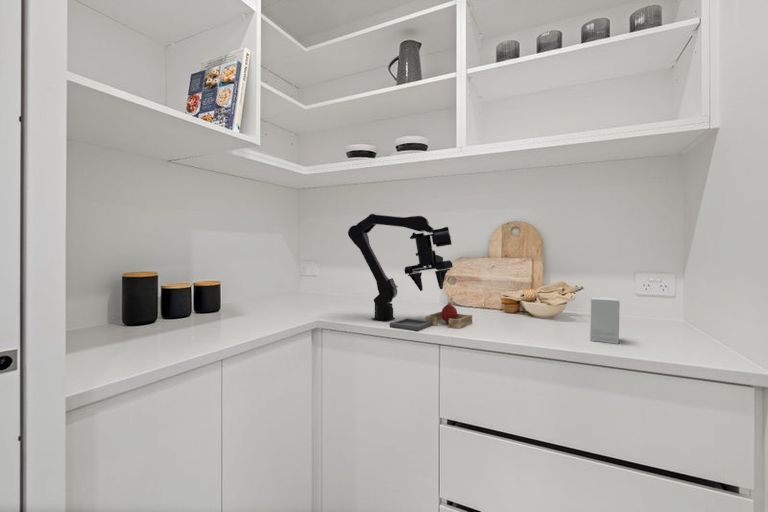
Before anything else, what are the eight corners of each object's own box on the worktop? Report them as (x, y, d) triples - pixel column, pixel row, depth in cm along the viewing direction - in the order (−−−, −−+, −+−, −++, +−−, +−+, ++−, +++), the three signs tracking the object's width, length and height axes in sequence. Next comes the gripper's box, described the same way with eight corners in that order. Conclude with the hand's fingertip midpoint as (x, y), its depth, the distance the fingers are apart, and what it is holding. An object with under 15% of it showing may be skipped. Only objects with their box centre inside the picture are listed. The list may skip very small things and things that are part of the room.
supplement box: (619, 344, 105) (619, 300, 105) (589, 340, 109) (590, 298, 109) (618, 339, 111) (619, 297, 111) (590, 336, 115) (591, 296, 115)
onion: (457, 325, 130) (457, 303, 130) (440, 325, 131) (441, 303, 131) (457, 322, 136) (457, 301, 136) (441, 322, 137) (441, 300, 137)
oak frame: (425, 324, 132) (425, 316, 132) (440, 319, 142) (440, 311, 142) (459, 328, 125) (459, 320, 125) (472, 323, 135) (472, 315, 135)
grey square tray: (389, 327, 127) (389, 322, 127) (406, 322, 136) (406, 318, 136) (417, 331, 121) (417, 326, 121) (432, 325, 130) (432, 321, 130)
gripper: (457, 244, 137) (463, 285, 137) (417, 250, 150) (423, 288, 149) (440, 246, 129) (447, 289, 129) (400, 253, 142) (407, 292, 141)
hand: (431, 290), depth 137 cm, fingers open, 9 cm apart
